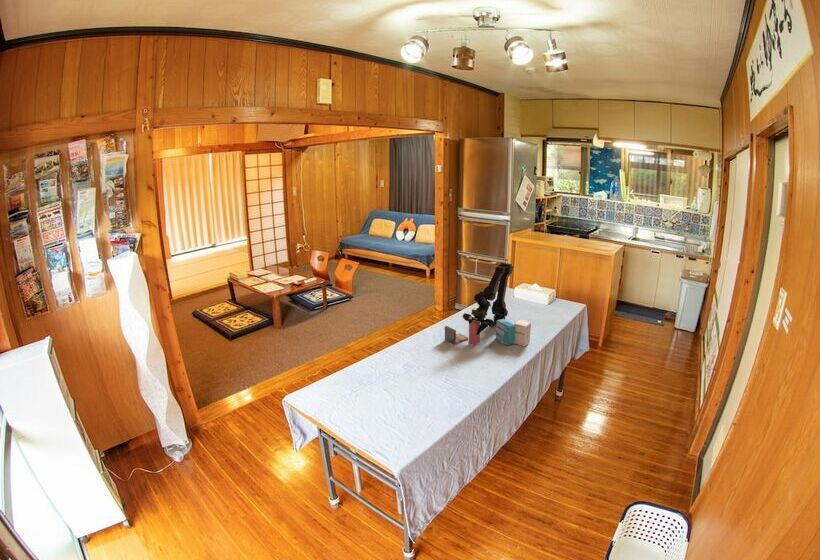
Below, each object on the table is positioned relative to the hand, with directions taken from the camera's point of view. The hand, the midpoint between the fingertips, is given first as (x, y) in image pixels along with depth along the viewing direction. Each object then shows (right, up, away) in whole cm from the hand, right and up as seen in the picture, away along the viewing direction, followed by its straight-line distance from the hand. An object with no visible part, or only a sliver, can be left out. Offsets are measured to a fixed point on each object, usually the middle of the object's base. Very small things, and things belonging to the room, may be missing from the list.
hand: (473, 333), depth 243 cm
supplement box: (+28, -6, +2) cm, 29 cm away
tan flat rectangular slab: (-7, -4, +8) cm, 12 cm away
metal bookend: (-13, -6, +5) cm, 15 cm away
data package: (+19, -5, +4) cm, 20 cm away
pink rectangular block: (+1, -6, +3) cm, 7 cm away
